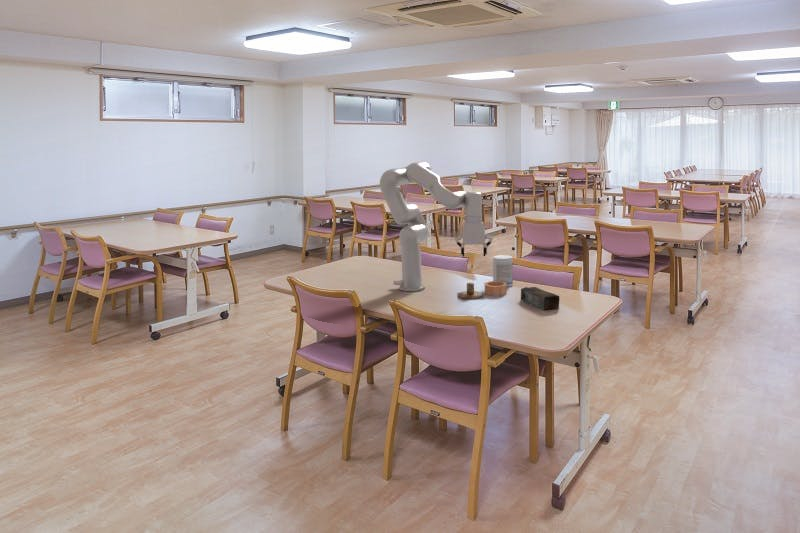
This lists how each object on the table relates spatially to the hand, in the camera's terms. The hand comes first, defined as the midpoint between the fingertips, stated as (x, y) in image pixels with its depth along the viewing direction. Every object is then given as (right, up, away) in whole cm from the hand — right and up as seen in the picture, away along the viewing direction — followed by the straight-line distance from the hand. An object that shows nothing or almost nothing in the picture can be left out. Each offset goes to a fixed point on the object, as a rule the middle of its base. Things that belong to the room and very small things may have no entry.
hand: (473, 256), depth 279 cm
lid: (-1, -19, +3) cm, 19 cm away
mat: (-1, -19, +3) cm, 19 cm away
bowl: (+11, -18, +7) cm, 22 cm away
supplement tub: (+17, -15, +22) cm, 32 cm away
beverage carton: (+27, -22, -12) cm, 37 cm away
